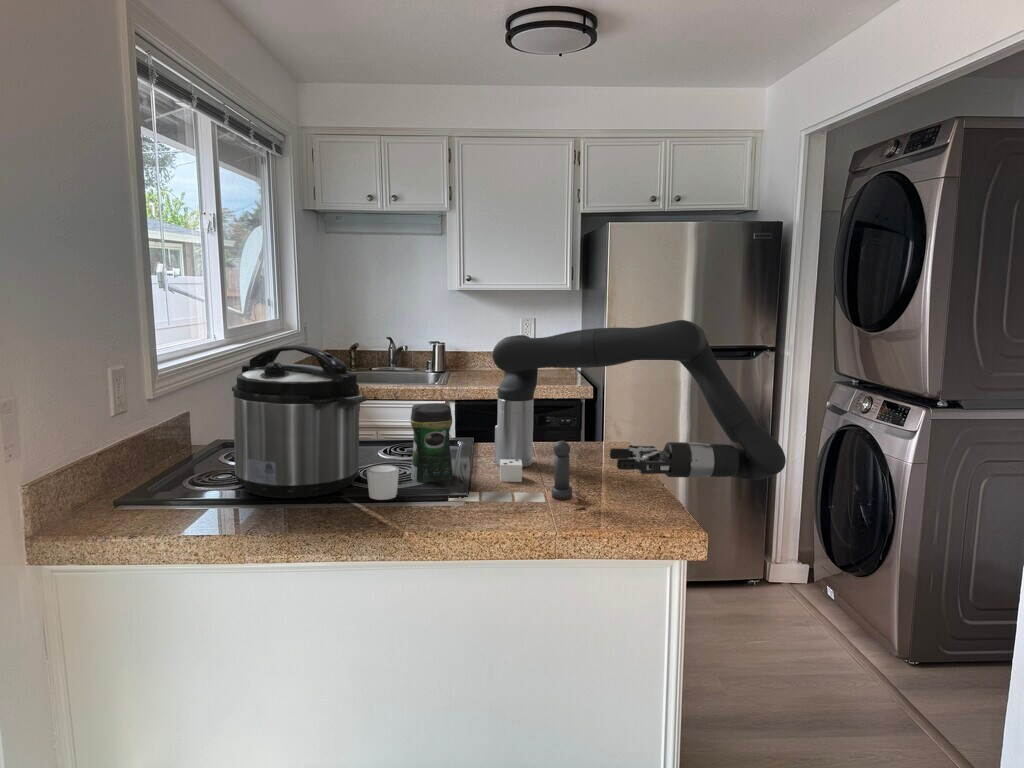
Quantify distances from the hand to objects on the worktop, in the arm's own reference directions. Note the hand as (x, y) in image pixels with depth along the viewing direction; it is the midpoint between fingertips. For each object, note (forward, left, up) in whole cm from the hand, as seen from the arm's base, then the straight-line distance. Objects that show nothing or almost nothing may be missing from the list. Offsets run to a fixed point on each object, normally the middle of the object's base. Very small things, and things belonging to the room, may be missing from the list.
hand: (613, 458), depth 148 cm
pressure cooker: (-52, -48, -10) cm, 71 cm away
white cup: (-30, -39, -10) cm, 50 cm away
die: (-24, -9, -10) cm, 27 cm away
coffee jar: (-36, -23, -10) cm, 44 cm away
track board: (-13, -17, -10) cm, 23 cm away
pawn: (-6, -9, -9) cm, 14 cm away
